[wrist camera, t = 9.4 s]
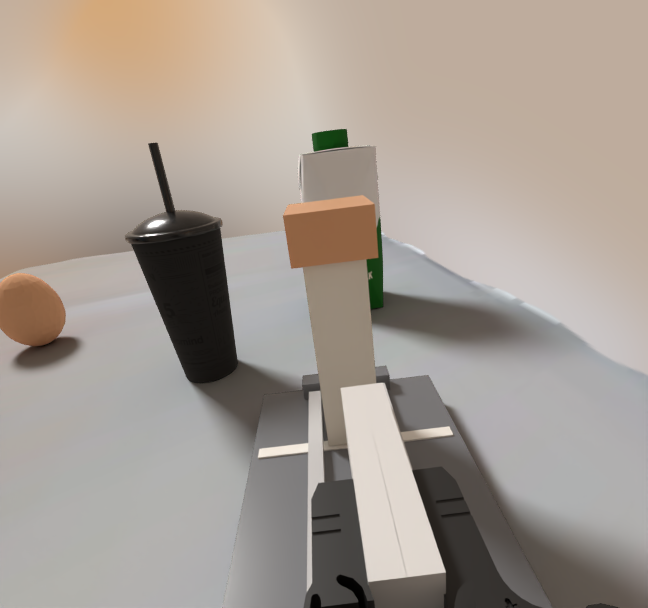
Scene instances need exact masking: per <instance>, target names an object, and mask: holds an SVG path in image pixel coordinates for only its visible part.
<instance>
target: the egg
mask: <svg viewBox="0 0 648 608" xmlns="http://www.w3.org/2000/svg"><path fill="white" fill-rule="evenodd" d="M65 317H66V314H65V309H64V306H63V303H62V301H61V299H60V297H59V296H58V294H57V293H56V291H54V290H53V289H52V288H51V287H50V286H49V285H48V284H47V283H45V282H44V281H43V280H41V279H39V278H37V277H35V276H33V275H29V274H24V273H17V274H13V275H10V276H8V277H6V278H5V279H4V280H3V281H2V282H1V283H0V328H1V330H2V331H3V332H4V333H5V334H6V335H7V336H8V337H9V338H11V339H13V340H14V341H16V342H19V343H21V344H24V345H30V346H42V345H45V344H48V343H50V342H51V341H53V340H54V339H56V338H57V336H58V335H59V334H60V333H61V331H62V329H63V326H64V324H65Z"/></svg>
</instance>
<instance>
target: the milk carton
mask: <svg viewBox="0 0 648 608" xmlns="http://www.w3.org/2000/svg"><path fill="white" fill-rule="evenodd" d="M312 141H313V149H314V148H315V149H314V152H310V153H304V154H300V155H299V163H298V181H299V189H301V203H305V202H313V201H321V200H329V199H337V198H344V197H352V196H360V195H363V196H365V197H366V198H367V199H369V200H370V201H371V202H373V203H374V204H375V215H376V229H377V244H378V258H372V259H366V262H367V274H368V287H369V299H370V309H374V308H380V307H383V255H382V238H381V223H380V207H379V194H378V182H377V180H378V176H377V166H376V148H375V146H370V145H367V146H355V147H348V138H347V130H346V129H339V130H330V131H323V132H317V133H313V134H312Z"/></svg>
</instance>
